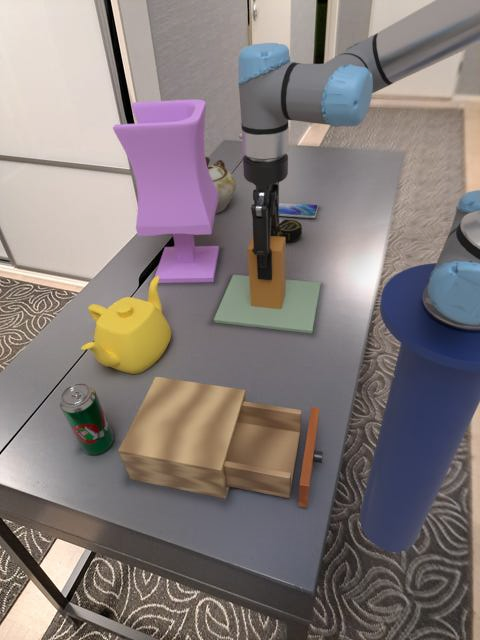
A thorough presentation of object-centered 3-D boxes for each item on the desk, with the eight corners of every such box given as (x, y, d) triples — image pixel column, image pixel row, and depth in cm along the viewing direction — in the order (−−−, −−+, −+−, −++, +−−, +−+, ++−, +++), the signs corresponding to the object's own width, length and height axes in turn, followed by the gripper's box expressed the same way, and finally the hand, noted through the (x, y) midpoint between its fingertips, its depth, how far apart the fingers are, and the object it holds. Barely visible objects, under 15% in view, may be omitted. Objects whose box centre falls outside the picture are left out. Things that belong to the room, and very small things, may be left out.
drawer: (325, 432, 68) (327, 409, 64) (316, 510, 59) (318, 488, 55) (232, 417, 71) (230, 394, 67) (210, 488, 62) (206, 466, 58)
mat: (320, 285, 97) (320, 282, 97) (312, 333, 86) (312, 330, 85) (233, 277, 102) (233, 274, 101) (213, 322, 90) (213, 319, 90)
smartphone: (266, 201, 128) (318, 204, 124) (266, 204, 128) (318, 207, 125) (260, 212, 122) (315, 216, 119) (261, 215, 123) (315, 219, 119)
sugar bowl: (220, 227, 120) (214, 173, 110) (172, 219, 125) (163, 167, 115) (248, 196, 133) (245, 146, 123) (204, 190, 138) (198, 141, 128)
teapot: (132, 305, 96) (120, 264, 89) (193, 323, 90) (186, 280, 83) (61, 375, 82) (40, 332, 75) (128, 401, 76) (112, 357, 69)
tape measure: (285, 228, 117) (285, 215, 115) (306, 236, 114) (307, 223, 111) (269, 239, 113) (269, 226, 111) (291, 247, 110) (291, 234, 107)
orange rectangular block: (285, 294, 95) (285, 236, 85) (281, 309, 91) (280, 251, 82) (256, 291, 96) (253, 234, 87) (251, 306, 92) (247, 248, 83)
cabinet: (248, 420, 72) (245, 389, 67) (226, 499, 62) (221, 470, 57) (164, 406, 75) (155, 376, 70) (130, 479, 65) (117, 450, 60)
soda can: (97, 425, 73) (75, 376, 65) (121, 436, 71) (101, 387, 63) (75, 449, 69) (49, 401, 62) (100, 461, 67) (76, 413, 60)
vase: (162, 249, 113) (132, 102, 90) (223, 247, 112) (208, 98, 89) (149, 285, 101) (111, 127, 79) (217, 284, 100) (198, 123, 77)
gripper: (254, 134, 81) (258, 244, 96) (229, 175, 67) (238, 295, 83) (295, 135, 79) (293, 247, 94) (278, 177, 66) (278, 299, 81)
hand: (267, 269), depth 88 cm, fingers closed on orange rectangular block, 5 cm apart
